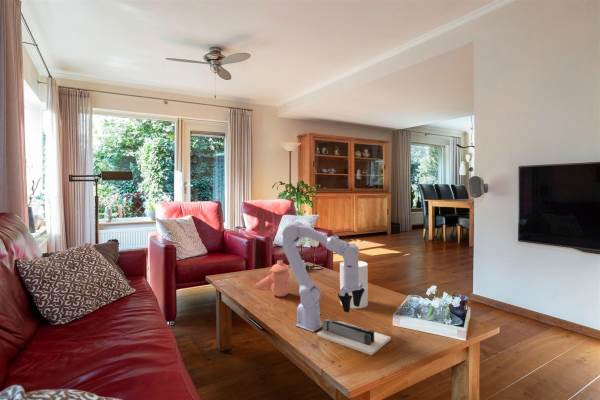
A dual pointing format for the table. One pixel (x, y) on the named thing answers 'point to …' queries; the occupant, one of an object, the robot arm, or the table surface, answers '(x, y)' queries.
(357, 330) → the tongs arm
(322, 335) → the cutting board
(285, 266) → the ceramic vessels
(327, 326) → the tongs base
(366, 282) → the canister
